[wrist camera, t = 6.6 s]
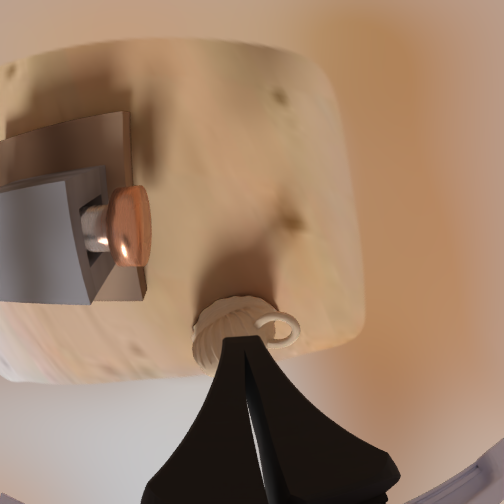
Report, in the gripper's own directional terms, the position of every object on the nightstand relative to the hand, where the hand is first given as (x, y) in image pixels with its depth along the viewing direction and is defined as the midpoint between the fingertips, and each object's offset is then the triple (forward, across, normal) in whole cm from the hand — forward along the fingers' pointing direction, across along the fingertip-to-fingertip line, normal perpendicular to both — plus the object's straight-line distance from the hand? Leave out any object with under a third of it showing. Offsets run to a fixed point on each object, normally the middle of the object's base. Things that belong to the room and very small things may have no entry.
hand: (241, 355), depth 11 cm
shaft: (+7, +10, -4) cm, 13 cm away
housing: (+9, +11, -4) cm, 15 cm away
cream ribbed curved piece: (+10, 0, +5) cm, 11 cm away
